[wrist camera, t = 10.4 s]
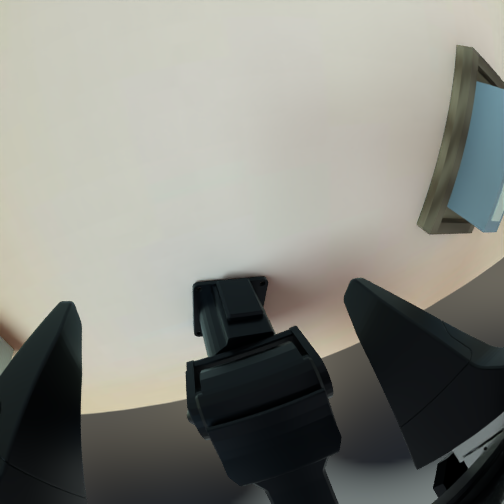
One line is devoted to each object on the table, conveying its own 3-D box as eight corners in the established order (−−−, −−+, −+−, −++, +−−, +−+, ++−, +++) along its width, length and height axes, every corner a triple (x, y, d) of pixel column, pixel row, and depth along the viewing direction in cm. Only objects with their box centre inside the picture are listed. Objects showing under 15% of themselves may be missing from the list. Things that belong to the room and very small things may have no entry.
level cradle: (461, 225, 31) (471, 233, 29) (416, 224, 27) (429, 234, 26) (496, 85, 19) (509, 89, 18) (456, 45, 16) (472, 47, 14)
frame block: (491, 96, 19) (530, 111, 14) (463, 208, 27) (497, 232, 23) (475, 81, 17) (520, 95, 13) (446, 206, 26) (484, 233, 21)
